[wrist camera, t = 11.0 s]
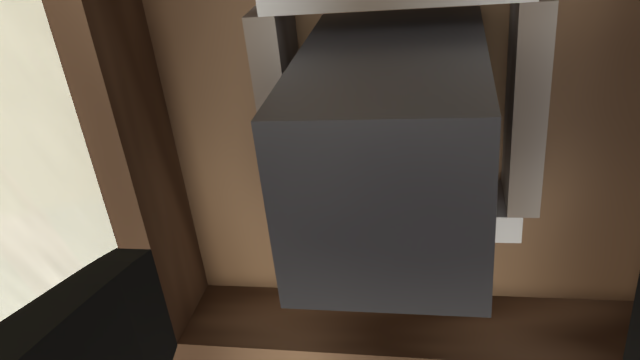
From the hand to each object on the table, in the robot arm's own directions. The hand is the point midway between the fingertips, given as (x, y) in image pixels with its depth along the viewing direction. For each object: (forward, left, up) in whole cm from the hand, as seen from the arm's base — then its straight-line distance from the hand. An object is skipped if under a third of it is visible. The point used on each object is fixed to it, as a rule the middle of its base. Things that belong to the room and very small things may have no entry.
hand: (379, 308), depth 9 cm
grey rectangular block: (0, 0, -9) cm, 9 cm away
